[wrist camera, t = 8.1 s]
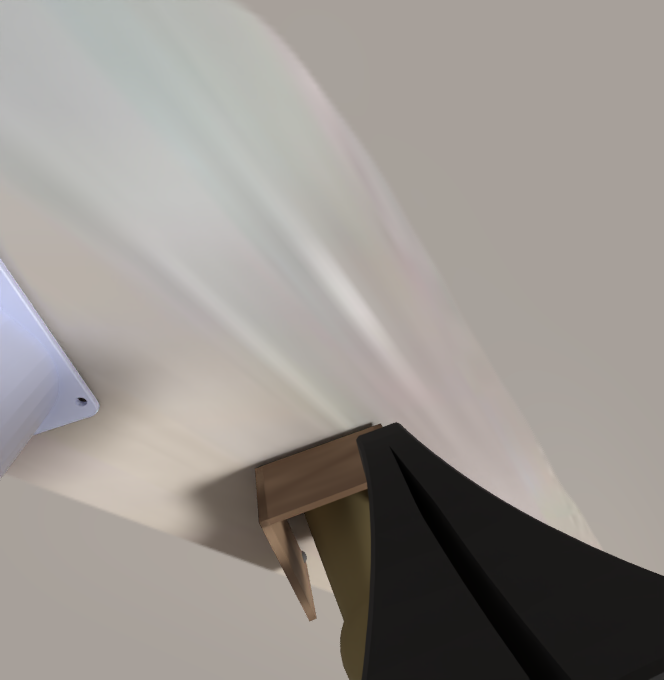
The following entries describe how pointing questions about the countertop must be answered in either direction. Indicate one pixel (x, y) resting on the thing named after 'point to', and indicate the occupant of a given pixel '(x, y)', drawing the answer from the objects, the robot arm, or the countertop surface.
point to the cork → (347, 568)
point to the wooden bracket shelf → (305, 499)
